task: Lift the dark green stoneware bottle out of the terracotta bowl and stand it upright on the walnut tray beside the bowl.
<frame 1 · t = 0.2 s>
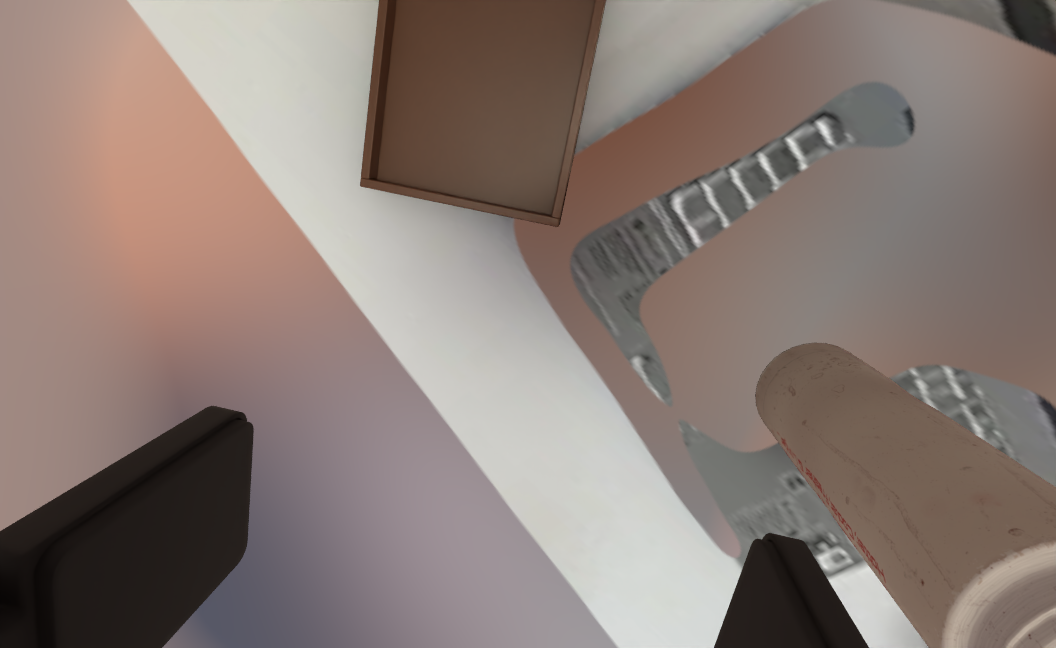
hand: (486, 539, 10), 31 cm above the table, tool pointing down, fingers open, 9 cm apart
tray: (482, 87, 37), on the table
thermos bottle: (809, 392, 40), on the table
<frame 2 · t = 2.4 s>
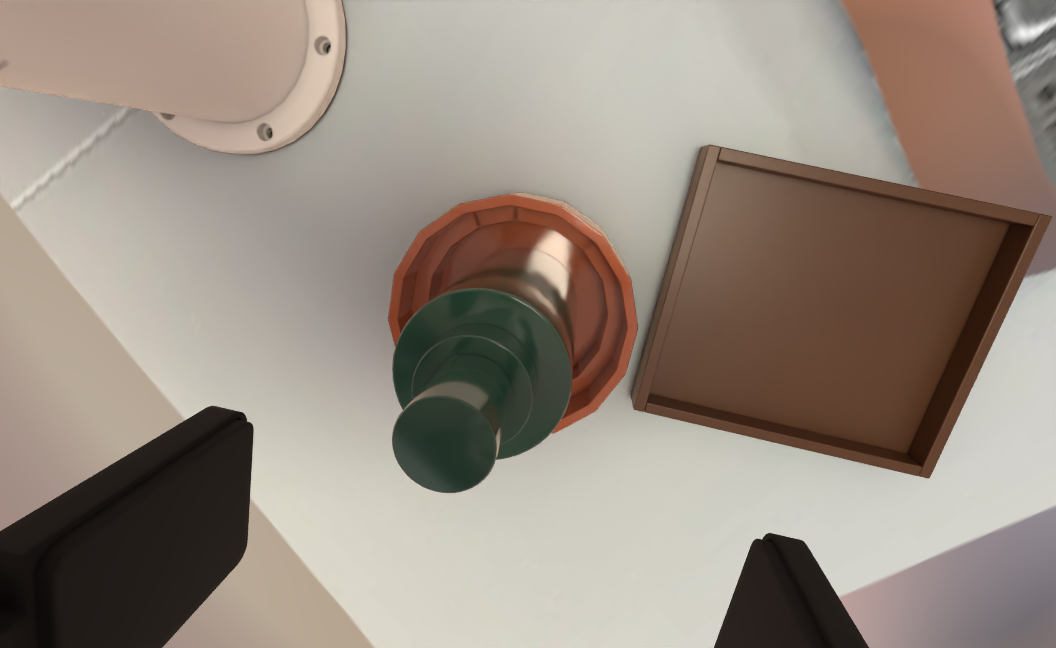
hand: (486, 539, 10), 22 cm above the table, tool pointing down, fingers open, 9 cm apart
tray: (809, 312, 29), on the table
bowl: (521, 301, 31), on the table
bottle: (520, 303, 30), resting on bowl
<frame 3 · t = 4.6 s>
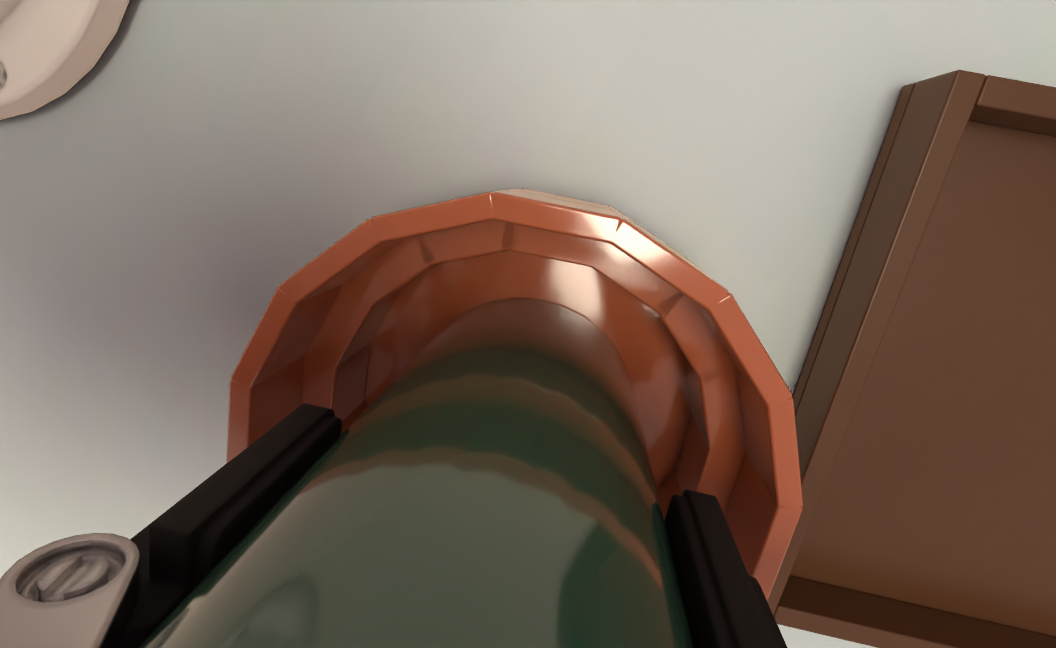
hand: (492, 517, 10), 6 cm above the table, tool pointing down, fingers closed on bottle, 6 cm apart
bowl: (524, 398, 16), on the table
bottle: (522, 405, 16), point 1 cm above the table, touching bowl, gripper
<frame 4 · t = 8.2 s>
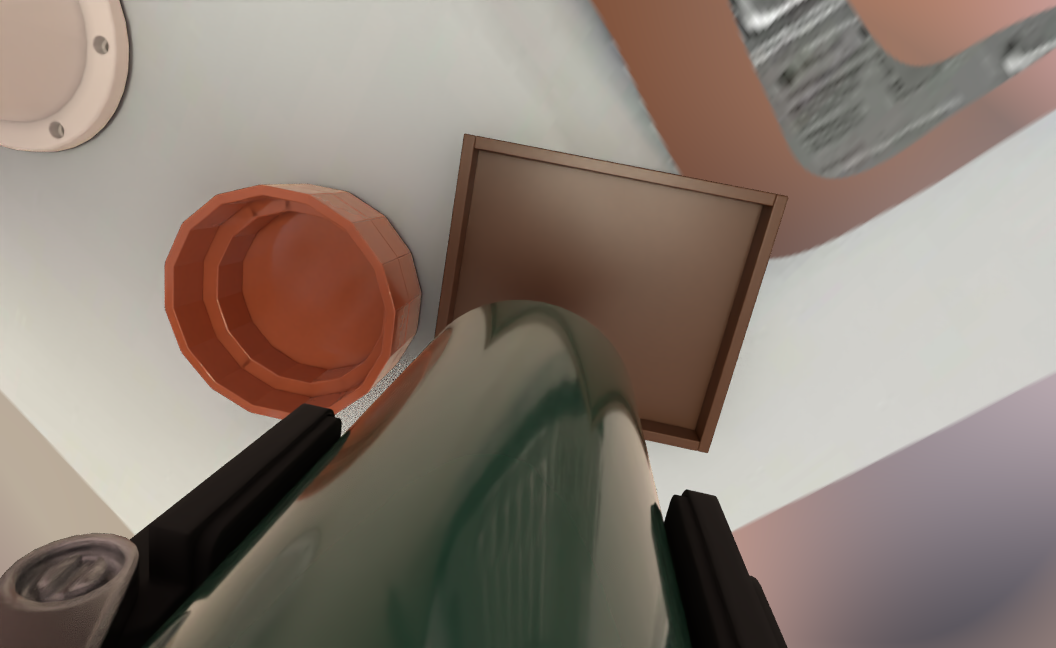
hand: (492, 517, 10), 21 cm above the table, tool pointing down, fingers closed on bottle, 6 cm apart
tray: (592, 294, 30), on the table
bowl: (323, 290, 32), on the table
bottle: (522, 407, 16), point 16 cm above the table, touching gripper
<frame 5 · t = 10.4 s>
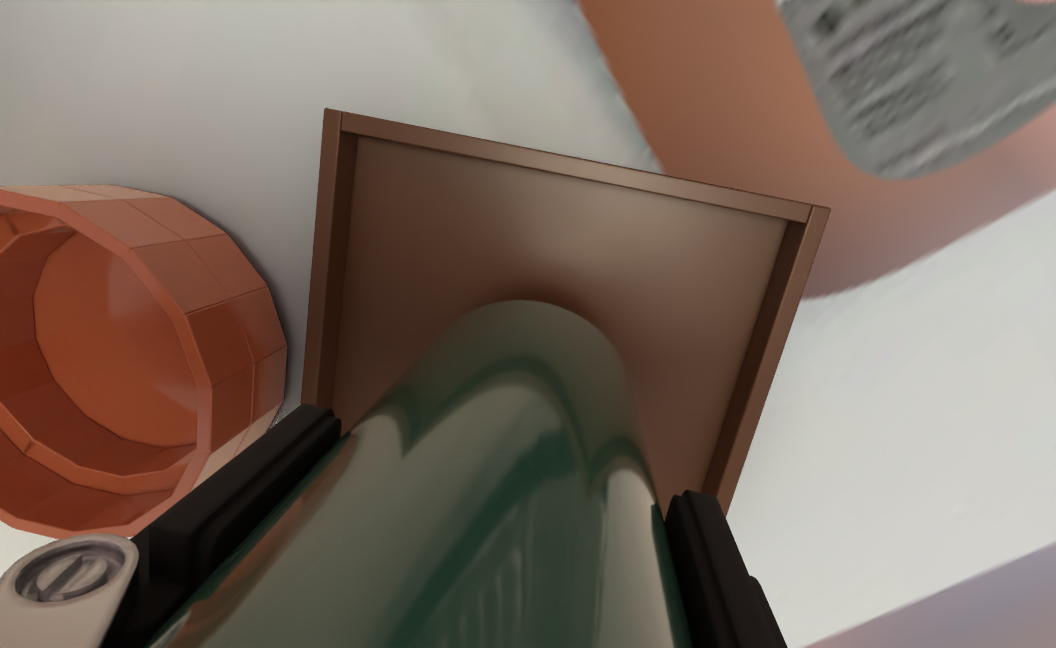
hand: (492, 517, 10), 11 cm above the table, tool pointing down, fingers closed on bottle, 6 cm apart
tray: (534, 348, 21), on the table
bowl: (153, 337, 22), on the table
bottle: (522, 407, 16), point 5 cm above the table, touching gripper
when the fingers open (6 cm above the table, at t = 12.1 s): bottle stays where it is, resting on tray.
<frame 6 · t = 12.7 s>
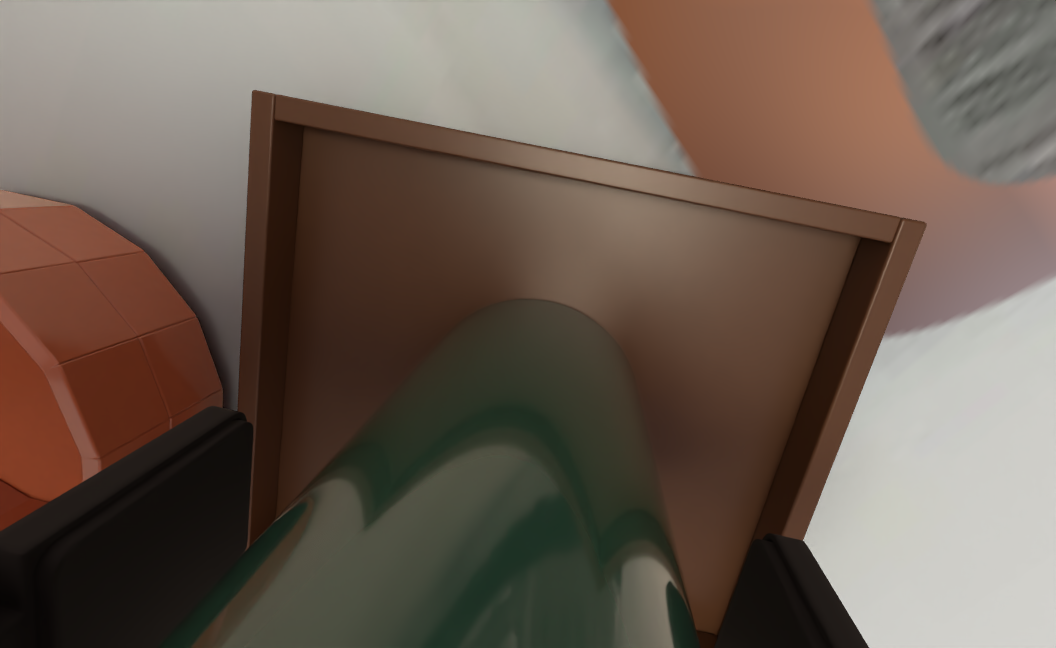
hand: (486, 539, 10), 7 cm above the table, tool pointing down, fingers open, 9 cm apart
tray: (530, 395, 16), on the table
bowl: (63, 376, 18), on the table
bottle: (529, 403, 16), resting on tray
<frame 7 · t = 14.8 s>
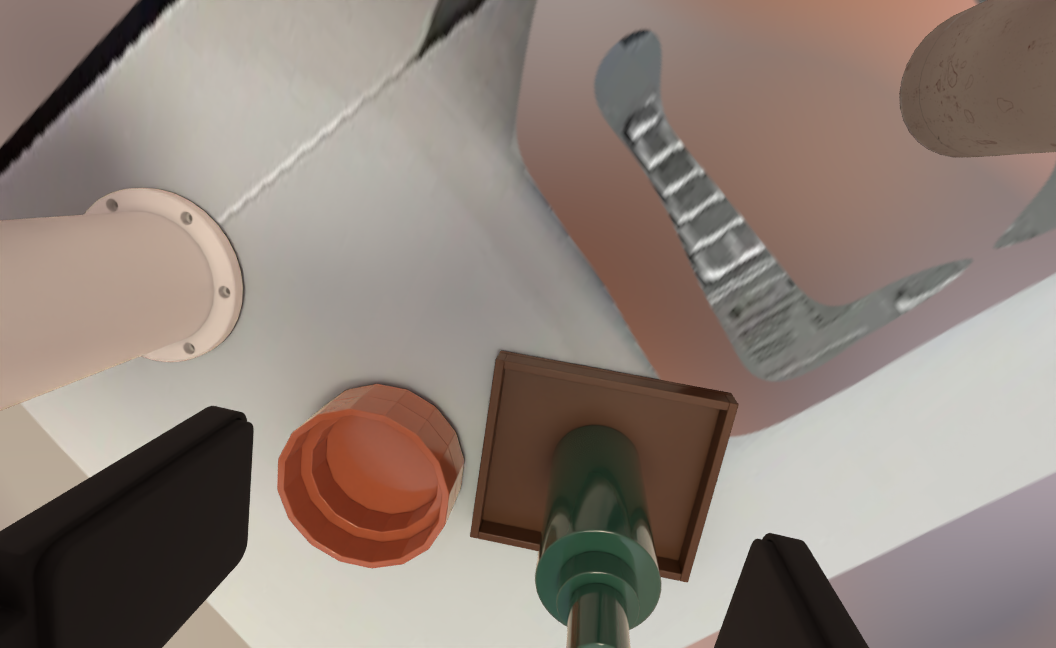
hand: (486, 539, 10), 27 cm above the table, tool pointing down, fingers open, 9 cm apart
tray: (595, 460, 39), on the table
bowl: (388, 455, 41), on the table
bottle: (595, 464, 39), resting on tray
thermos bottle: (971, 85, 31), on the table
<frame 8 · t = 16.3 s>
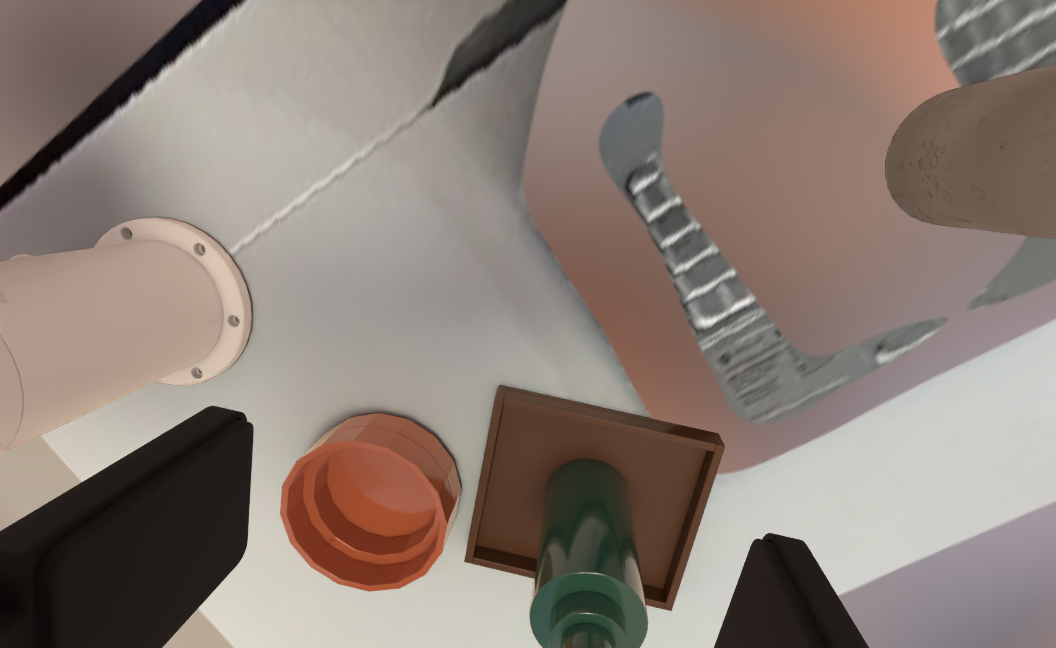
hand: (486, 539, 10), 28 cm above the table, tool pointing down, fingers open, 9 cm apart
tray: (587, 492, 41), on the table
bowl: (387, 481, 43), on the table
bottle: (587, 496, 41), resting on tray
thermos bottle: (952, 158, 33), on the table
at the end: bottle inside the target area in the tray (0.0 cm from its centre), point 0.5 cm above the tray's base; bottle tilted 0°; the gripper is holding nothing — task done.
